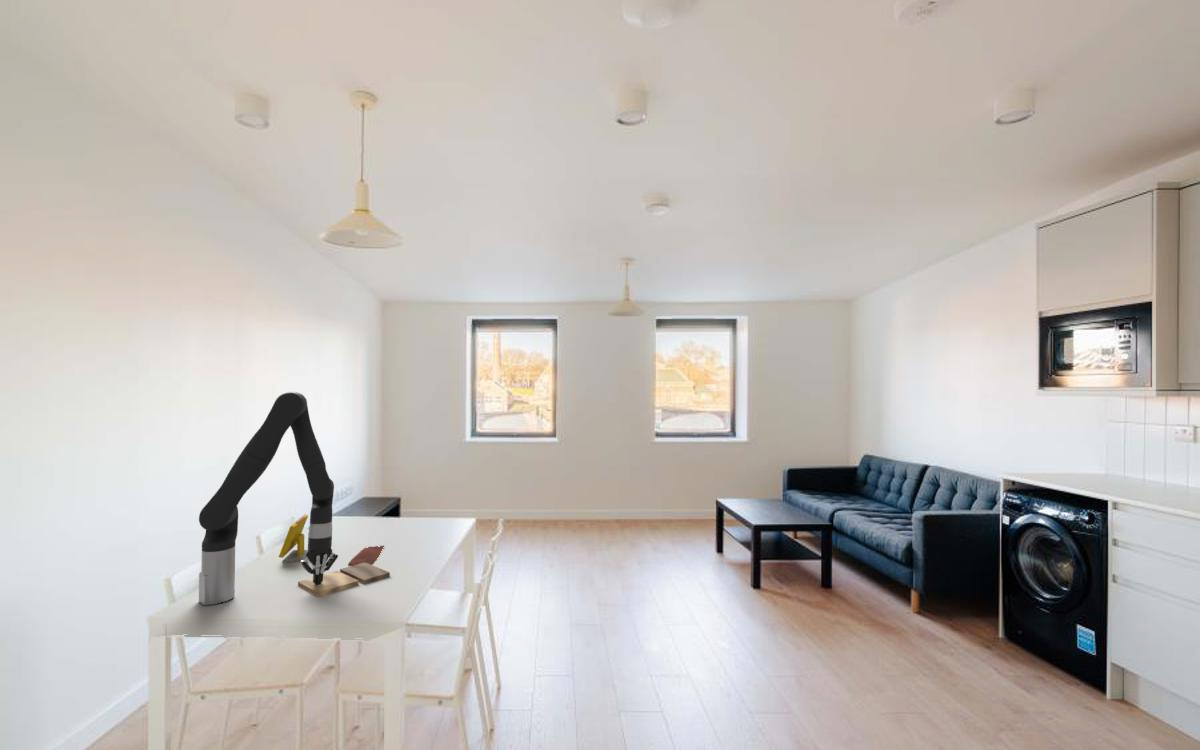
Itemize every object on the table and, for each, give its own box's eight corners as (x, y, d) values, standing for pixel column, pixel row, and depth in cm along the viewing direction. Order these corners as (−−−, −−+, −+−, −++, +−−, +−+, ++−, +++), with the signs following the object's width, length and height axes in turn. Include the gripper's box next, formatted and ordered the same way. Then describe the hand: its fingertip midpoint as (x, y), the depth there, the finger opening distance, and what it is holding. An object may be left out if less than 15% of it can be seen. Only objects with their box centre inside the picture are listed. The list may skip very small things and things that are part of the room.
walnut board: (363, 584, 194) (363, 580, 194) (340, 573, 205) (340, 569, 205) (389, 577, 201) (389, 572, 201) (365, 566, 213) (365, 562, 213)
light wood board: (318, 597, 182) (318, 592, 182) (297, 585, 192) (298, 581, 192) (358, 584, 193) (358, 580, 193) (337, 574, 203) (337, 570, 203)
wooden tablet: (373, 567, 214) (373, 563, 214) (346, 568, 213) (346, 564, 213) (388, 546, 240) (388, 543, 240) (364, 547, 239) (364, 544, 239)
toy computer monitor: (293, 550, 233) (294, 514, 233) (313, 549, 235) (314, 513, 235) (278, 565, 213) (278, 525, 214) (300, 564, 215) (300, 524, 216)
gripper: (305, 540, 183) (302, 591, 182) (343, 533, 193) (341, 582, 193) (296, 536, 188) (293, 586, 187) (334, 529, 198) (331, 577, 197)
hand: (317, 584), depth 190 cm, fingers closed
